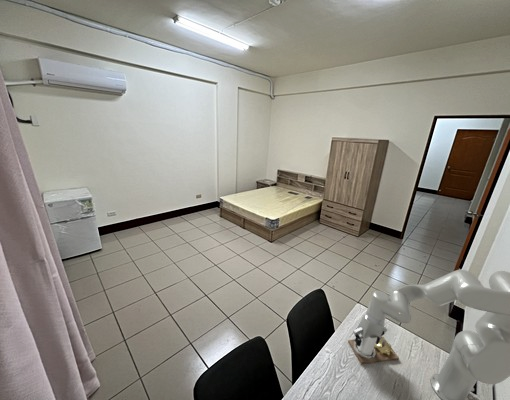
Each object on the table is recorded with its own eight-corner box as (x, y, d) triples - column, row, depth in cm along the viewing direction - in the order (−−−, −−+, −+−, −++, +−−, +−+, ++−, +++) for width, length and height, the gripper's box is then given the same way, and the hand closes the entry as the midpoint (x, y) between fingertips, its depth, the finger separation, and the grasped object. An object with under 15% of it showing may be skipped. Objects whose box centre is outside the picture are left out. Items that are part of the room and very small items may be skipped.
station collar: (366, 339, 111) (367, 337, 111) (379, 358, 102) (379, 356, 102) (349, 341, 109) (350, 339, 109) (361, 360, 100) (361, 358, 100)
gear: (383, 338, 112) (385, 332, 111) (396, 355, 104) (398, 349, 102) (368, 340, 111) (370, 333, 109) (380, 357, 103) (382, 350, 101)
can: (368, 344, 108) (374, 327, 104) (373, 357, 102) (380, 339, 98) (355, 342, 109) (360, 325, 105) (359, 355, 103) (366, 337, 99)
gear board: (382, 338, 114) (383, 336, 113) (398, 359, 104) (399, 357, 103) (348, 342, 111) (348, 340, 110) (360, 364, 100) (361, 362, 100)
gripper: (386, 308, 103) (376, 334, 109) (353, 310, 100) (345, 337, 106) (397, 321, 96) (387, 348, 102) (363, 324, 94) (354, 352, 99)
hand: (366, 342), depth 104 cm, fingers open, 9 cm apart
